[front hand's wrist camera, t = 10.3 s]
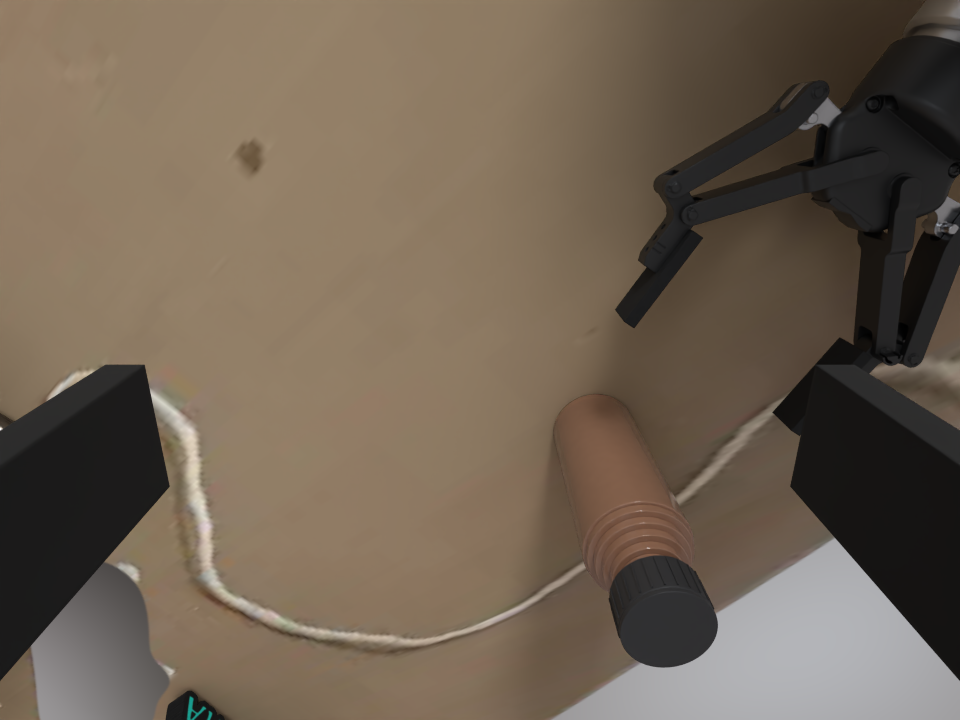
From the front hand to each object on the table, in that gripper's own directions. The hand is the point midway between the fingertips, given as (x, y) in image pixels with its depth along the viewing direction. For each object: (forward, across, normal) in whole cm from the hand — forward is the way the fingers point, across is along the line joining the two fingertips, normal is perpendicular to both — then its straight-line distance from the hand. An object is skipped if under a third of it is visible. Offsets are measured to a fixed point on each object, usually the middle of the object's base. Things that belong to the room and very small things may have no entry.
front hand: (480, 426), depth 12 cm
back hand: (+26, +15, -9) cm, 31 cm away
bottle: (+32, +9, -17) cm, 38 cm away
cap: (+14, +9, -17) cm, 24 cm away
